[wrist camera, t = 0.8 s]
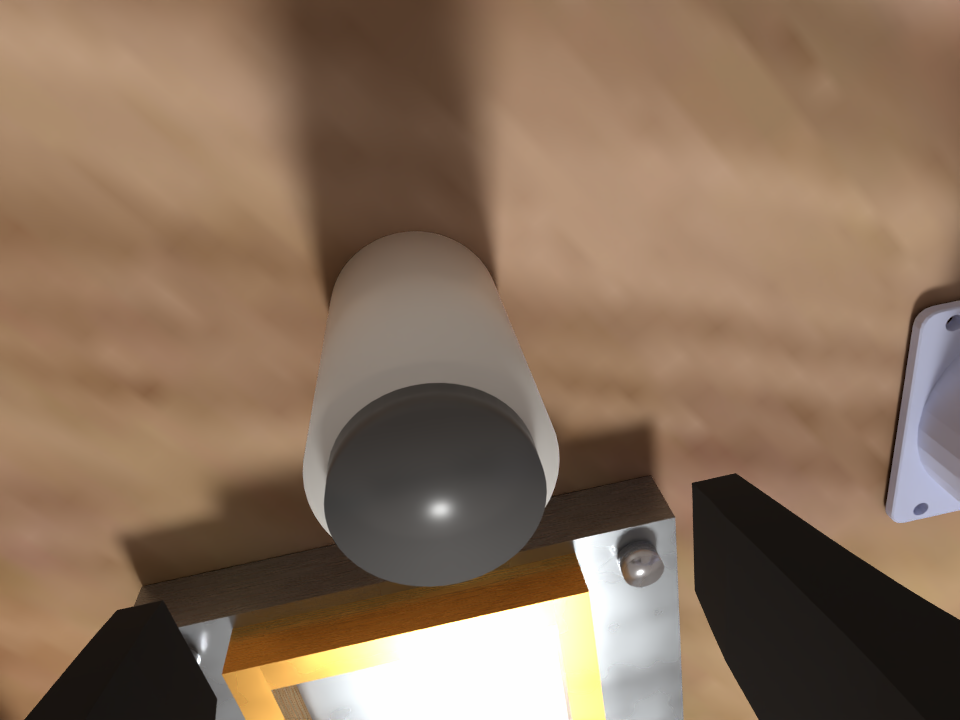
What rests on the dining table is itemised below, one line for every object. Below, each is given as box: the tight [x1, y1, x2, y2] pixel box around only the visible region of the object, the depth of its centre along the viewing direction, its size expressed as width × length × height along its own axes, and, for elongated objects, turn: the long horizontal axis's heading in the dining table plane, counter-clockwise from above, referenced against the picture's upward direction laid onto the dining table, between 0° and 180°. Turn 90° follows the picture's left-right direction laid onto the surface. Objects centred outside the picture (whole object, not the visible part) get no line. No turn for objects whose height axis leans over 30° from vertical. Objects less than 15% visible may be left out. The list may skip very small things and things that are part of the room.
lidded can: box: [303, 231, 560, 587], centre depth 15 cm, size 4×4×8 cm
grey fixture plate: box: [134, 475, 683, 720], centre depth 22 cm, size 16×12×4 cm
